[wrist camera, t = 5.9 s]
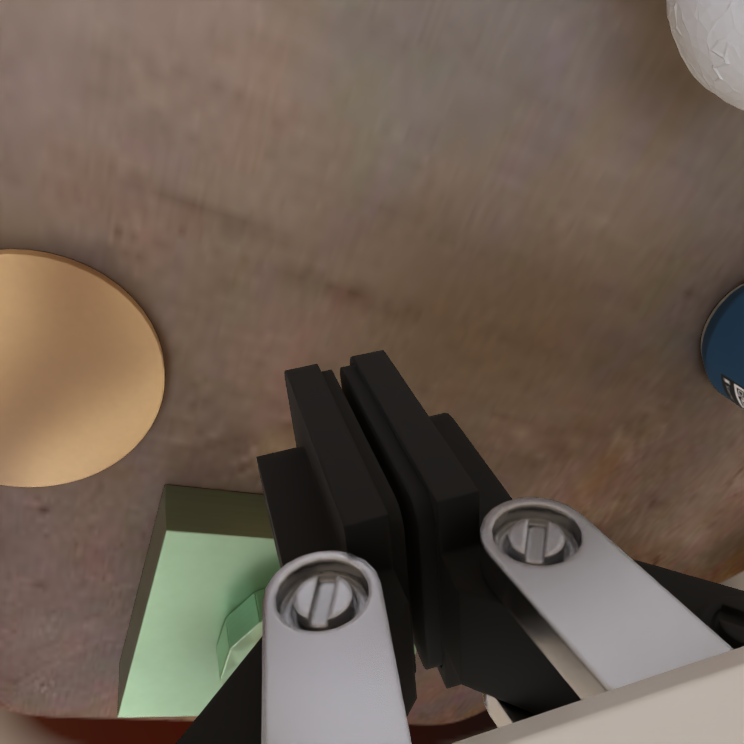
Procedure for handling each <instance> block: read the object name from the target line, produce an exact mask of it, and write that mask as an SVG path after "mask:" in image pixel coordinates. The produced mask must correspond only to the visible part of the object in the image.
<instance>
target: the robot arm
mask: <svg viewBox="0 0 744 744" xmlns="http://www.w3.org/2000/svg"><path fill="white" fill-rule="evenodd" d="M340 377H341V385H342V389H341V387H340V385H339V383H338V381H337V379H336V377H335V375H334V373H333V371H332V370H327V371H322V372H321V370H320V368H319V366H318V365H317V364H314V365H309V366H305V367H300V368H295V369H290V370H286V371H285V381H286V387H287V393H288V399H289V405H290V411H291V417H292V423H293V429H294V434H295V440H296V446H297V448H292V449H288V450H284V451H279V452H275V453H271V454H267V455H262V456H258V457H257V463H258V468H259V473H260V478H261V483H262V488H263V493H264V497H265V502H266V507H267V511H268V516H269V521H270V525H271V530H272V534H273V538H274V543H275V547H276V551H277V556H278V560H279V564H280V568H281V569H280V570H279V571H278V572H277V573H276V574H274V576H273V577H272V579H271V580H270V582H269V584H268V585H267V587H266V589H265V594H264V599H263V619H262V637H261V638H260V640H259V641H258V642H257V643H256V644H255V646H254V647H253V648H252V649H251V651H250V652H249V653H248V654H247V656H246V657H245V658H244V659H243V661H242V662H241V663H240V664H239V666H238V667H237V668H236V669H235V671H234V672H233V673H232V674H231V676H230V677H229V678H228V679H227V681H226V682H225V683H224V684H223V686H222V687H221V688H220V689H219V691H218V692H217V693H216V694H215V696H214V697H213V698H212V699H211V701H210V702H209V703H208V704H207V706H206V707H205V708H204V709H203V711H202V712H201V713H200V714H199V716H198V717H197V718H196V719H195V720H194V722H193V723H192V724H191V726H190V727H189V728H188V729H187V730H186V732H185V733H184V734H183V736H182V737H181V738H180V739H179V740H178V742H177V743H176V744H411V739H410V734H409V728H408V723H407V716H408V714H409V712H410V710H411V708H412V706H413V704H414V703H415V701H416V699H417V694H416V683H415V673H416V663H415V651H414V645H415V647H416V650H417V652H418V654H419V657H420V659H421V662H422V664H423V666H424V667H425V669H431V668H434V667H437V668H438V670H439V672H440V675H441V677H442V679H443V681H444V684H445V686H446V688H447V689H448V688H451V687H454V686H457V685H460V684H462V685H465V686H467V687H469V688H472V689H474V690H477V691H479V692H482V693H483V702H484V704H485V706H486V708H487V710H488V713H489V715H490V716H491V718H492V719H493V721H494V722H495V724H496V725H497V726H498V728H497V729H494V730H491V731H488V732H485V733H482V734H479V735H476V736H473V737H470V738H467V739H464V740H461V741H458V742H455V743H452V744H744V591H742V590H738V589H735V588H732V587H728V586H724V585H721V584H717V583H714V582H710V581H707V580H703V579H700V578H696V577H693V576H689V575H686V574H682V573H679V572H675V571H672V570H668V569H665V568H661V567H658V566H654V565H651V564H647V563H644V562H640V561H637V560H633V559H631V558H630V557H629V556H628V555H627V554H626V553H625V552H624V551H622V550H621V549H620V548H619V547H618V546H617V545H616V544H614V543H613V542H612V541H611V540H610V539H609V538H608V537H607V536H605V535H604V534H603V533H602V532H601V531H600V530H599V529H598V528H596V527H595V526H594V525H593V524H592V523H591V522H590V521H589V520H587V519H586V518H585V517H584V516H583V515H582V514H580V513H579V512H577V511H576V510H574V509H573V508H571V507H570V506H568V505H565V504H563V503H560V502H558V501H555V500H551V499H545V498H539V497H527V498H517V499H513V500H512V498H511V497H510V495H509V494H508V493H507V491H506V490H505V489H504V487H503V486H502V485H501V483H500V482H499V480H498V479H497V478H496V476H495V475H494V474H493V472H492V471H491V470H490V468H489V467H488V465H487V464H486V463H485V461H484V460H483V459H482V457H481V456H480V455H479V453H478V452H477V450H476V449H475V448H474V446H473V445H472V444H471V442H470V441H469V440H468V438H467V437H466V435H465V434H464V433H463V431H462V430H461V429H460V427H459V426H458V424H457V423H456V422H455V420H454V419H453V418H452V417H451V416H450V415H449V414H448V413H442V414H438V415H433V416H428V415H427V413H426V412H425V410H424V409H423V407H422V406H421V404H420V403H419V401H418V400H417V398H416V397H415V396H414V394H413V393H412V391H411V390H410V388H409V387H408V385H407V384H406V382H405V381H404V379H403V378H402V376H401V375H400V373H399V372H398V370H397V369H396V367H395V366H394V365H393V363H392V362H391V360H390V359H389V357H388V356H387V354H386V353H385V352H384V351H383V350H381V351H376V352H371V353H366V354H362V355H357V356H352V357H351V358H350V366H346V367H341V368H340Z"/></svg>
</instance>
